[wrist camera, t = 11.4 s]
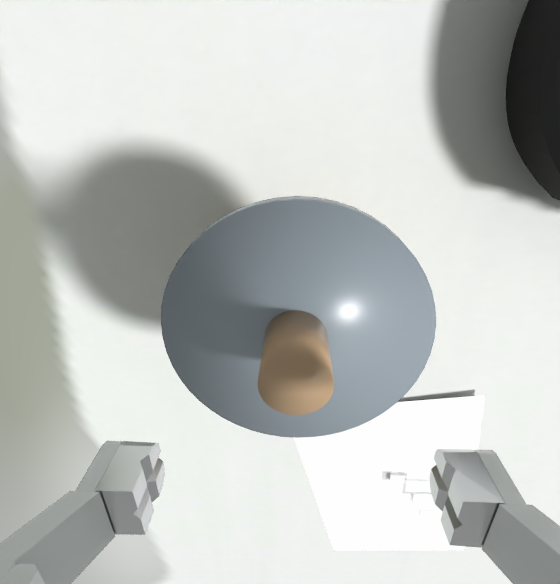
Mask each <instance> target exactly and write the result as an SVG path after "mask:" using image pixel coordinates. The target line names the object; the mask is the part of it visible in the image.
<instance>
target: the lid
mask: <svg viewBox="0 0 560 584" xmlns="http://www.w3.org/2000/svg"><path fill="white" fill-rule="evenodd" d="M161 326H162V335H163V340H164V344H165V348H166V351H167V354H168V356H169V359H170V361H171V363H172V366H173V367H174V369H175V371H176V373H177V374H178V376H179V378H180V379H181V380H182V382H183V383H184V384H185V386H186V387H187V388H188V389H189V391H190V392H191V393H192V394H193V395H194V396H195V397H196V398H197V399H198V400H199V401H200V402H202V403H203V404H204V405H205V406H207V407H208V408H209V409H210V410H212V411H213V412H215V413H216V414H218V415H220V416H221V417H223V418H225V419H227V420H229V421H231V422H233V423H235V424H237V425H239V426H242V427H244V428H247V429H250V430H253V431H256V432H260V433H264V434H269V435H275V436H281V437H295V438H299V437H317V436H325V435H330V434H335V433H339V432H343V431H346V430H349V429H352V428H355V427H357V426H360V425H362V424H364V423H366V422H368V421H371V420H372V419H374V418H376V417H377V416H379V415H381V414H382V413H384V412H385V411H387V410H388V409H389V408H391V407H392V406H393V405H394V404H396V403H397V402H398V401H399V400H400V399H401V398H402V397H403V396H404V395H405V394H406V393H407V392H408V391H409V390H410V388H411V387H412V386H413V385H414V383H415V382H416V381H417V379H418V377H419V376H420V374H421V372H422V371H423V369H424V367H425V365H426V363H427V360H428V358H429V356H430V353H431V349H432V346H433V342H434V337H435V328H436V313H435V304H434V299H433V294H432V290H431V287H430V285H429V282H428V280H427V277H426V275H425V273H424V271H423V269H422V268H421V266H420V264H419V262H418V261H417V259H416V258H415V257H414V255H413V254H412V253H411V252H410V250H409V249H408V248H407V247H406V246H405V244H404V243H403V242H402V241H401V240H400V239H399V238H398V237H397V236H396V235H395V234H394V233H393V232H392V231H391V230H390V229H389V228H388V227H386V226H385V225H384V224H382V223H381V222H379V221H378V220H376V219H375V218H373V217H372V216H371V215H369V214H367V213H364V212H362V211H360V210H358V209H356V208H354V207H352V206H349V205H346V204H343V203H340V202H337V201H333V200H327V199H322V198H317V197H301V196H292V197H280V198H273V199H268V200H263V201H259V202H255V203H252V204H250V205H247V206H244V207H242V208H239V209H237V210H235V211H233V212H231V213H229V214H227V215H226V216H224V217H222V218H220V219H219V220H218V221H216V222H215V223H214V224H212V225H211V226H209V227H208V228H207V229H206V230H205V231H204V232H203V233H202V234H201V235H200V236H199V237H198V238H197V239H196V240H195V241H194V242H193V243H192V244H191V245H190V246H189V248H188V249H187V250H186V252H185V253H184V254H183V256H182V257H181V258H180V260H179V261H178V263H177V264H176V266H175V268H174V270H173V272H172V274H171V275H170V278H169V281H168V284H167V286H166V289H165V292H164V298H163V303H162V312H161Z"/></svg>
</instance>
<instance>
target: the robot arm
mask: <svg viewBox="0 0 560 584" xmlns="http://www.w3.org/2000/svg"><path fill="white" fill-rule="evenodd" d="M160 452H161V451H160V447H159V443H148V442H129V441H106V442H105V443H104V444H103V445H102V446H101V448H100V450H99V452H98V453H97V455H96V457H95V458H94V460H93V462H92V463H91V465H90V467H89V469H88V470H87V472H86V474H85V475H84V477H83V479H82V481H81V482H80V484H79V485H78V487H77V489H76V490H75V491H69V492H68V493H67V494H65V495H64V496H63V497H61V498H60V499H59V500H57V501H56V502H55V503H53V504H52V505H51V506H49V507H48V508H47V509H45V510H44V511H43V512H41V513H40V514H39V515H37V516H36V517H35V518H33V519H32V520H31V521H29V522H28V523H27V524H25V525H24V526H22V527H21V528H20V529H18V530H17V531H16V532H14V533H13V534H12V535H10V536H9V537H8V538H7V539H5V540H4V541H2V542H1V543H0V584H71V583H72V582H73V581H74V580H75V579H76V577H78V576H79V575H80V574H81V572H82V571H83V570H84V569H85V568H86V567H87V566H88V565H89V564H90V563H91V562H92V561H93V560H94V559H95V557H96V556H97V555H98V554H99V553H100V552H101V551H102V550H103V549H104V547H106V546H107V544H108V543H109V542H110V541H111V540H112V539H113V538H114V537H115V534H146V531H147V528H148V525H149V523H150V520H151V517H152V514H153V512H154V510H153V506H152V502H153V501H154V500H155V499H156V498H157V497H158V496H159V495H160V492H161V489H162V486H163V481H164V464H163V461H162V460H161V459H159V458H158V457H159V454H160ZM434 460H435V463H436V465H435V466H434V467H433V468H431V472H430V489H431V494H432V497H433V500H434V503H435V505H436V506H437V507H438V508H439V509H440V510H441V511H443V513H442V516H441V523H442V526H443V529H444V531H445V534H446V537H447V540H448V543H449V545H453V546H469V547H483V548H482V550H483V551H484V552H485V553H486V554H487V555H488V556H489V558H490V559H491V560H492V561H493V562H494V563H495V564H496V565H497V566H498V568H499V569H500V570H501V571H502V572H503V573H504V574H505V575H506V577H507V578H508V579H509V580H510V581H511V582H512V583H513V584H560V526H559V525H558V524H556V523H555V522H554V521H552V520H551V519H550V518H549V517H547V516H546V515H545V514H543V513H542V512H541V511H540V510H538V509H537V508H536V507H534V506H533V505H526V503H525V501H524V499H523V498H522V496H521V494H520V493H519V491H518V489H517V488H516V486H515V484H514V483H513V481H512V479H511V478H510V476H509V474H508V473H507V471H506V469H505V468H504V466H503V464H502V463H501V461H500V459H499V457H498V456H497V454H496V453H495V452H494V451H493V450H472V449H437V451H436V452H435V455H434Z"/></svg>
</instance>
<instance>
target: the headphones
mask: <svg viewBox="0 0 560 584" xmlns="http://www.w3.org/2000/svg"><path fill="white" fill-rule="evenodd" d="M506 111H507V118H508V125H509V129H510V133H511V136H512V139H513V142H514V144H515V147H516V149H517V151H518V153H519V155H520V156H521V158H522V160H523V162H524V164H525V165H526V166H527V168H528V169H529V171H530V172H531V173H532V175H533V176H534V177H535V179H536V180H537V181H538V182H539V184H540V185H541V186H542V187H543V188H544V189H545V190H546V191H547V192H548V193H549V194H550V195H551V196H552V197H553V198H555V199H558V200H560V0H529V1H528V4H527V6H526V9H525V11H524V14H523V16H522V19H521V22H520V25H519V28H518V31H517V33H516V37H515V41H514V45H513V49H512V53H511V58H510V64H509V69H508V75H507V86H506Z"/></svg>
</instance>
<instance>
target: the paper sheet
mask: <svg viewBox="0 0 560 584" xmlns="http://www.w3.org/2000/svg"><path fill="white" fill-rule="evenodd" d="M485 396H486V395H480V396H468V397H455V398H443V399H430V400H418V401H405V402H397V403H396V404H394V405H393V406H392V407H391V408H389V409H388V410H387V411H385V412H384V413H382V414H381V415H379V416H377V417H376V418H374V419H372V420H371V421H368V422H366V423H364V424H362V425H360V426H357V427H355V428H352V429H349V430H346V431H343V432H339V433H335V434H330V435H325V436H317V437H299V438H295V437H293V438H294V440H295V443H296V446H297V449H298V452H299V455H300V457H301V460H302V463H303V466H304V469H305V471H306V474H307V477H308V480H309V483H310V486H311V488H312V491H313V494H314V497H315V500H316V502H317V505H318V508H319V511H320V514H321V517H322V519H323V522H324V525H325V528H326V531H327V533H328V536H329V539H330V542H331V545H332V548H333V550H334V551H374V550H465V546H453V545H449V543H448V540H447V537H446V534H445V531H444V529H443V526H442V523H441V516H442V513H443V511H441V510H440V509H439V508H438V507H437V506H436V505H435V503H434V500H433V497H432V494H431V489H430V472H431V468H433V467H434V466H435V465H436V463H435V460H434V455H435V452H436V451H437V449H472V450H478V447H479V440H480V433H481V425H482V418H483V411H484V403H485Z"/></svg>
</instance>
